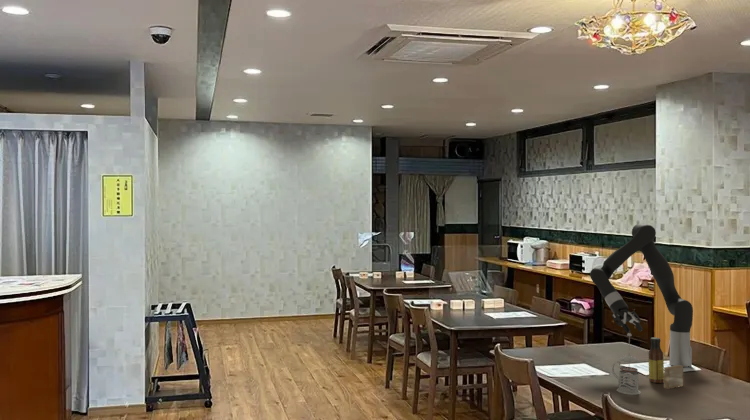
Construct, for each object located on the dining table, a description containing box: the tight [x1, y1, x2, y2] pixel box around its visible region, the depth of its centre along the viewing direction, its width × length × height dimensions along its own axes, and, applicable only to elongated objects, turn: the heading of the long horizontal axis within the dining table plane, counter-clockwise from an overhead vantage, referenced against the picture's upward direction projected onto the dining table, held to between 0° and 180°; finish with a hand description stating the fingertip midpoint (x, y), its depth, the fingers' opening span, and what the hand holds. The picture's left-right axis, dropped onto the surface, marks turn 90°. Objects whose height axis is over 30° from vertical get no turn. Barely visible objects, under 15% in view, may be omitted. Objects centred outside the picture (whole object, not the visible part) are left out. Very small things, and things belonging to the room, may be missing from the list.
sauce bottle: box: [648, 337, 665, 384], centre depth 291 cm, size 7×6×20 cm
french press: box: [611, 332, 642, 396], centre depth 276 cm, size 10×12×25 cm
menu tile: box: [663, 365, 684, 390], centre depth 283 cm, size 2×10×9 cm, turn 118°
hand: (635, 331), depth 302 cm, fingers open, 8 cm apart
